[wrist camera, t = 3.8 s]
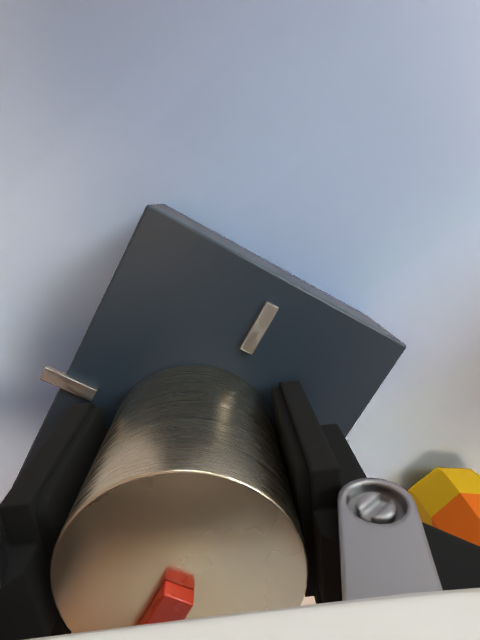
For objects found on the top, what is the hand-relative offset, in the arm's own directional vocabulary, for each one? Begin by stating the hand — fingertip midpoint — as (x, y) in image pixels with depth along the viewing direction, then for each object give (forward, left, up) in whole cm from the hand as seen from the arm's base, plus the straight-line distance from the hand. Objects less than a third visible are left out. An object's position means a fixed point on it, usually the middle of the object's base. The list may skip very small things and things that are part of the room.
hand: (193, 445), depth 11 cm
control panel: (0, 0, -3) cm, 3 cm away
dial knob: (0, 0, 0) cm, 0 cm away
